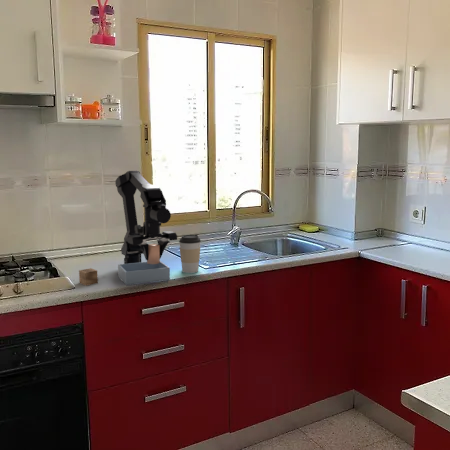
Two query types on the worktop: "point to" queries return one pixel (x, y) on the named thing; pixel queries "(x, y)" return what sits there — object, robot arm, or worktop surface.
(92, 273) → the cube
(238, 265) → the worktop surface
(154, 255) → the pink rectangular block
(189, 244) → the coffee cup
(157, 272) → the tote
